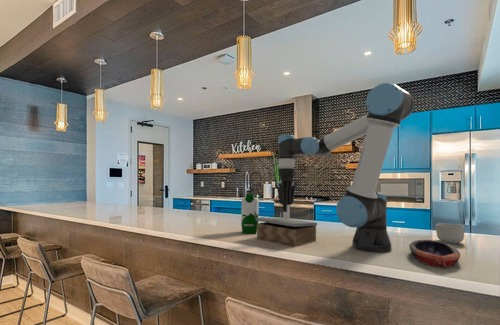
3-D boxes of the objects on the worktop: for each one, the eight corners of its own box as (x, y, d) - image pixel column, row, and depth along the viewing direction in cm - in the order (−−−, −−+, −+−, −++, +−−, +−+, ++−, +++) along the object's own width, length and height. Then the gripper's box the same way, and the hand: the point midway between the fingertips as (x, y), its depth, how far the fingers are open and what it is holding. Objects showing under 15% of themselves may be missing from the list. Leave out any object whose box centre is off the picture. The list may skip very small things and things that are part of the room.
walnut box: (316, 241, 137) (316, 225, 137) (294, 246, 125) (294, 230, 126) (278, 234, 152) (279, 220, 153) (257, 238, 141) (257, 223, 141)
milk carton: (240, 233, 152) (240, 194, 153) (242, 230, 161) (242, 193, 162) (257, 234, 151) (257, 194, 152) (258, 231, 160) (259, 193, 161)
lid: (316, 225, 137) (317, 222, 137) (294, 226, 125) (295, 223, 125) (278, 219, 153) (278, 216, 153) (255, 220, 141) (255, 217, 142)
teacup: (469, 245, 130) (468, 227, 131) (441, 244, 133) (441, 226, 133) (454, 239, 144) (454, 222, 144) (429, 238, 146) (429, 221, 147)
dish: (453, 252, 119) (452, 240, 120) (466, 275, 92) (466, 258, 92) (409, 247, 127) (409, 236, 127) (409, 267, 99) (409, 252, 100)
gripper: (288, 168, 148) (288, 216, 146) (271, 167, 138) (271, 219, 137) (301, 168, 142) (301, 218, 141) (283, 167, 133) (283, 221, 132)
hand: (286, 218), depth 139 cm, fingers closed
